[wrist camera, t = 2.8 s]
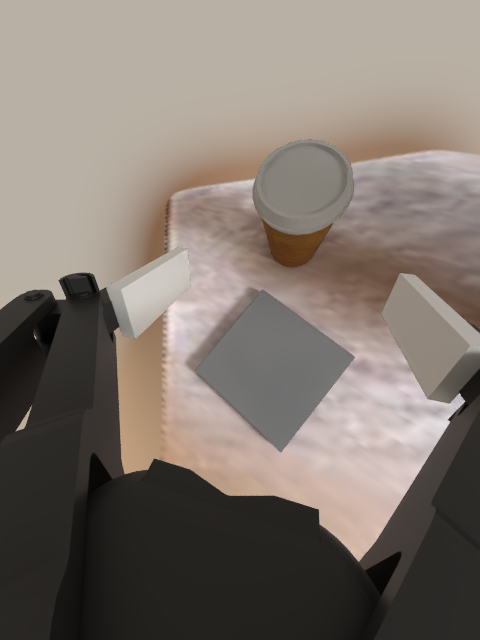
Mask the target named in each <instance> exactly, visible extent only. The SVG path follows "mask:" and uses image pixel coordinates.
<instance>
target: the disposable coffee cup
mask: <svg viewBox="0 0 480 640" xmlns="http://www.w3.org/2000/svg"><path fill="white" fill-rule="evenodd" d="M353 192H354V181H353V172H352V167H351V164H350V161H349V160H348V158H347V157H346V155H345V154H344V153H343V152H342V151H341V150H339V149H338V148H337V147H336V146H334V145H331V144H329V143H326V142H324V141H319V140H311V139H308V140H298V141H294V142H290V143H288V144H286V145H284V146H282V147H280V148H278V149H276V150H275V151H274V152H272V153H271V154H270V155H269V156H268V157H267V159H266V160H264V162H263V164H262V165H261V167H260V169H259V171H258V175H257V177H256V180H255V182H254V186H253V201H254V205H255V208H256V210H257V212H258V214H259V215H260V217H261V218H262V220H263V224H264V227H265V231H266V234H267V238H268V241H269V245H270V248H271V252H272V255H273V257H274V258H275V260H276V261H278V262H279V263H280V264H282V265H285V266H289V267H296V266H301V265H303V264H305V263H306V262H308V261H309V260H310V259H311V258H312V257H313V255H314V253H315V252H316V250H317V248H318V247H319V245H320V244H321V242H322V240H323V239H324V237H325V236H326V234H327V233H328V231H329V229H330V228H331V226H332V224H333V223H334V222H335V221H336V220H337V219H338V218H339V217H340V216H341V215H342V214H343V213H344V212H345V210H346V209H347V208H348V206H349V204H350V201H351V199H352V196H353Z"/></svg>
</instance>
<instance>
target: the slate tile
mask: <svg viewBox="0 0 480 640" xmlns="http://www.w3.org/2000/svg"><path fill="white" fill-rule="evenodd" d="M354 358H355V356H353V355H352V354H350V353H349V352H348V351H346V350H345V349H344V348H342V347H341V346H340V345H338V344H337V343H335V342H334V341H333V340H331V339H330V338H329V337H327V336H326V335H324V334H323V333H322V332H320V331H319V330H318V329H316V328H315V327H314V326H312V325H311V324H309V323H308V322H307V321H305V320H304V319H303V318H301V317H300V316H298V315H297V314H296V313H294V312H293V311H292V310H290V309H289V308H288V307H286V306H285V305H283V304H282V303H281V302H279V301H278V300H277V299H275V298H274V297H273V296H271V295H270V294H268V293H267V292H266V291H264V290H262V291H261V292H260V293H259V294H258V296H257V297H256V298H255V299H254V300H253V302H252V303H251V304H250V305H249V306H248V308H247V309H246V310H245V311H244V312H243V314H242V315H241V316H240V317H239V318H238V320H237V321H236V322H235V323H234V324H233V326H232V327H231V328H230V329H229V330H228V332H227V333H226V334H225V335H224V336H223V338H222V339H221V340H220V341H219V342H218V344H217V345H216V346H215V347H214V348H213V350H212V351H211V352H210V353H209V354H208V356H207V357H206V358H205V359H204V360H203V362H202V363H201V364H200V365H199V366H198V368H197V369H196V370H195V372H196V373H197V374H199V375H200V376H201V377H202V378H203V379H204V380H205V381H206V382H207V383H208V384H209V385H210V386H211V387H212V388H213V389H214V390H215V391H216V392H218V393H219V394H220V395H221V396H222V397H223V398H224V399H225V400H226V401H227V402H228V403H229V404H230V405H231V406H232V407H233V408H234V409H236V410H237V411H238V412H239V413H240V414H241V415H242V416H243V417H244V418H245V419H246V420H247V421H248V422H249V423H250V424H251V425H252V426H253V427H255V428H256V429H257V430H258V431H259V432H260V433H261V434H262V435H263V436H264V437H265V438H266V439H267V440H268V441H269V442H270V443H271V444H273V445H274V446H275V447H276V448H277V449H278V450H279V451H280V452H282V451H283V449H284V448H285V447H286V445H287V444H288V443H289V442H290V440H291V439H292V438H293V436H294V435H295V434H296V433H297V431H298V430H299V429H300V427H301V426H302V425H303V424H304V422H305V421H306V420H307V418H308V417H309V416H310V415H311V413H312V412H313V411H314V409H315V408H316V407H317V406H318V404H319V403H320V402H321V400H322V399H323V398H324V397H325V395H326V394H327V393H328V391H329V390H330V389H331V388H332V386H333V385H334V384H335V382H336V381H337V380H338V379H339V377H340V376H341V375H342V373H343V372H344V371H345V370H346V368H347V367H348V366H349V364H350V363H351V362H352V360H353V359H354Z"/></svg>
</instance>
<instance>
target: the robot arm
mask: <svg viewBox="0 0 480 640" xmlns="http://www.w3.org/2000/svg"><path fill="white" fill-rule="evenodd" d="M59 282H60V285H61V287H62V289H63V291H64V294H65V296H66V300H55V298H54V296H53V294H52V292H51V291H49V290H32V291H28V292H26V293H24V294H21V295H19V296H18V297H16V298H15V299H13V300H12V301H11V302H10V303H8V304H7V305H6V306H4V307H3V308H2V309H1V310H0V640H480V330H479V329H478V328H477V327H476V326H474V325H472V324H471V323H469V322H467V321H465V320H464V319H463V318H462V317H461V316H460V315H459V314H458V313H457V312H455V311H454V310H453V309H452V308H451V307H450V306H449V305H448V304H447V303H446V302H444V301H443V300H442V299H441V298H440V297H439V296H438V295H437V294H436V293H434V292H433V291H432V290H431V289H430V288H429V287H428V286H427V285H426V284H424V283H423V282H422V281H421V280H420V279H419V278H418V277H417V276H416V275H412V274H403V273H400V274H399V276H398V279H397V281H396V283H395V285H394V287H393V289H392V291H391V294H390V296H389V298H388V300H387V302H386V304H385V307H384V309H383V311H382V313H381V315H382V317H383V318H384V320H385V322H386V324H387V326H388V328H389V329H390V331H391V333H392V335H393V337H394V338H395V340H396V342H397V344H398V346H399V348H400V349H401V351H402V353H403V355H404V357H405V359H406V360H407V362H408V364H409V366H410V368H411V370H412V371H413V373H414V375H415V377H416V379H417V381H418V382H419V384H420V386H421V388H422V390H423V392H424V393H425V395H426V397H427V399H430V400H435V401H440V402H445V403H450V402H451V401H452V400H453V399H454V398H455V397H456V396H457V395H458V394H459V393H460V394H461V396H462V397H463V399H464V400H465V403H464V404H463V405H462V406H461V407H460V408H459V409H458V410H457V411H456V412H455V413H454V414H453V415H452V416H451V417H450V418H449V419H448V420H449V421H450V424H449V425H448V427H447V428H446V430H445V432H444V433H443V435H442V436H441V438H440V440H439V441H438V443H437V444H436V446H435V448H434V449H433V451H432V452H431V454H430V456H429V457H428V459H427V460H426V462H425V464H424V465H423V467H422V469H421V470H420V472H419V473H418V475H417V477H416V478H415V480H414V481H413V483H412V485H411V486H410V488H409V489H408V491H407V493H406V494H405V496H404V497H403V499H402V501H401V502H400V504H399V505H398V507H397V509H396V510H395V512H394V513H393V515H392V517H391V518H390V520H389V522H388V523H387V525H386V526H385V528H384V530H383V531H382V533H381V534H380V536H379V538H378V539H377V541H376V542H375V543H374V545H373V546H372V547H371V548H370V549H369V551H368V552H367V553H366V554H365V555H364V556H363V558H362V559H361V560H360V562H358V561H357V560H356V558H355V557H354V556H353V555H352V554H351V552H350V551H349V550H348V549H347V548H346V547H345V546H344V545H343V544H342V543H341V542H340V541H339V540H338V539H337V538H336V537H335V536H334V535H333V534H331V533H330V532H329V531H328V530H327V529H325V528H324V527H322V526H321V525H320V524H319V510H318V509H315V508H312V507H309V506H305V505H302V504H299V503H296V502H293V501H289V500H286V499H283V498H280V497H276V496H228V495H226V494H224V493H222V492H221V491H220V490H218V489H217V488H215V487H214V486H212V485H211V484H210V483H208V482H207V481H205V480H204V479H203V478H201V477H200V476H198V475H197V474H196V473H194V472H193V471H191V470H189V469H186V468H183V467H180V466H177V465H173V464H170V463H167V462H164V461H161V460H157V459H154V460H153V462H152V463H151V465H150V467H149V469H148V470H142V471H136V472H132V473H128V474H124V470H123V466H122V461H121V444H120V422H119V402H118V401H119V400H118V378H117V357H116V337H115V334H114V330H116V329H117V328H118V327H119V328H120V331H121V334H122V336H123V337H128V338H133V339H136V338H137V337H138V336H139V335H140V334H141V333H142V332H143V331H144V330H145V329H146V328H148V327H149V326H150V325H151V324H152V323H153V322H154V321H155V320H156V319H157V318H158V317H159V316H160V315H161V314H162V313H163V312H164V311H165V310H166V309H167V308H168V307H169V306H170V305H172V304H173V303H174V302H175V301H176V300H177V299H178V298H179V297H180V296H181V295H182V294H183V293H184V292H185V291H186V290H187V289H188V288H189V287H190V286H191V280H190V269H189V259H188V249H186V248H178V247H177V248H175V249H174V250H172V251H170V252H168V253H166V254H165V255H163V256H161V257H159V258H157V259H156V260H154V261H152V262H150V263H148V264H147V265H145V266H143V267H141V268H139V269H138V270H136V271H134V272H132V273H131V274H129V275H127V276H125V277H123V278H122V279H120V280H118V281H116V282H114V283H113V284H111V285H109V286H107V287H106V288H104V289H102V290H100V291H99V288H98V285H97V282H96V280H95V277H94V275H93V274H91V273H76V274H71V275H67V276H65V277H63V278H61V279H60V280H59ZM33 333H34V334H33ZM34 335H35V336H36V338H37V339H35V337H34ZM32 404H33V405H32ZM31 406H32V408H31V411H30V414H29V417H28V420H27V424H26V426H25V428H24V429H22V430H19V431H16V429H17V428H18V426H19V425H20V423H21V422H22V420H23V418H24V417H25V415H26V414H27V412H28V411H29V409H30V407H31ZM15 431H16V432H15Z"/></svg>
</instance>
